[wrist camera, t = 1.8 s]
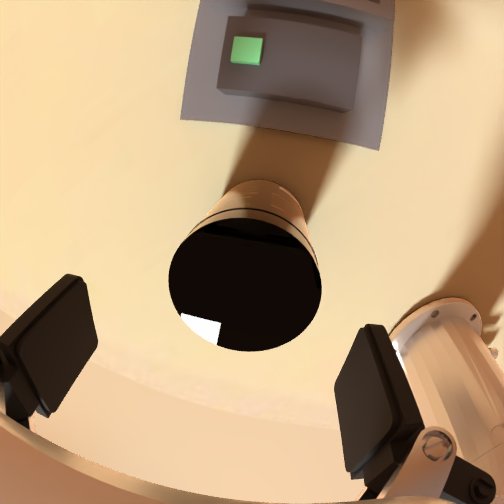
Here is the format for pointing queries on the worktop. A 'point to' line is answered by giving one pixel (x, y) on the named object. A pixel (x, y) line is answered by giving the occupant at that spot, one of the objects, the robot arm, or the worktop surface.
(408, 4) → the worktop surface
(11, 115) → the worktop surface
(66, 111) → the worktop surface
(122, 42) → the worktop surface
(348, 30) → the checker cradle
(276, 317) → the supplement container
